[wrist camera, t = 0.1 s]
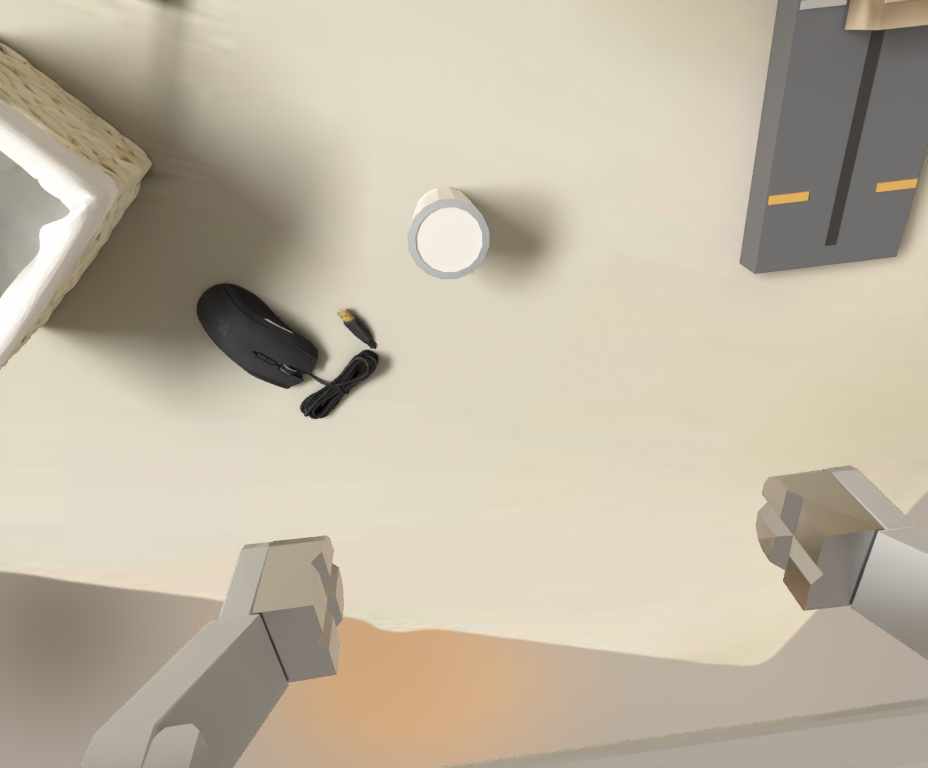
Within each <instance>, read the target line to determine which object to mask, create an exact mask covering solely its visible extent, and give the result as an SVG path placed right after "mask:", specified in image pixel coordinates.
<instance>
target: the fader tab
mask: <svg viewBox="0 0 928 768" xmlns="http://www.w3.org/2000/svg"><path fill="white" fill-rule="evenodd" d="M920 25H928V0H850V5H849V10H848V15H847V20H846V25H845V30H884V29H893V28H902V27H911V26H920Z"/></svg>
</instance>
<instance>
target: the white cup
mask: <svg viewBox="0 0 928 768" xmlns="http://www.w3.org/2000/svg"><path fill="white" fill-rule="evenodd" d="M408 244H409V251H410V253H411V255H412V257H413V259H414V261H415V263H416V265H417V266H419V267H420V268H421V269H422V270H423V271H424V272H426V273H427V274H428V275H431V276H434V277H437V278H440V279H458V278H461V277H463V276H465V275H467V274H470V273H472V272H473V271H474V270H475V269H476V268H477V267H478V266H479V265H480V264H481V263H482V262H483V261H484V258H485V256H486V254H487V251H488V249H489V228H488V226H487V224H486V221H485V219H484V217H483V215H482V214H481V213H480V212H479V210H478V209H477V208H476V207H475V206H474V205H473V203H472V202H471V201H470V200H469V199H468V198H467V197H466V196H465V195H464V194H463V193H462V192H461V191H459V190H456V189H453V188H451V187H437V188H435V189H433V190H431V191H429V192H427V193H425V195H424V196H423V197H422V198H421V199H420V200H419V201H418V203H417V206H416V209H415V212H414V215H413V219H412V222H411V225H410V229H409V232H408Z"/></svg>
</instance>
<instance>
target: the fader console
mask: <svg viewBox="0 0 928 768" xmlns="http://www.w3.org/2000/svg"><path fill="white" fill-rule="evenodd" d="M849 5H850V0H778V6H777V13H776V20H775V26H774V33H773V40H772V47H771V54H770V61H769V67H768V74H767V81H766V88H765V95H764V101H763V108H762V115H761V122H760V129H759V135H758V142H757V149H756V156H755V163H754V170H753V176H752V183H751V190H750V197H749V204H748V210H747V217H746V224H745V231H744V238H743V244H742V251H741V258H740V264H742V265H743V266H744V267H746V268H747V269H749V270H750V271H751V272H753V273H754V274H756V273H765V272H773V271H781V270H789V269H798V268H806V267H814V266H822V265H830V264H839V263H847V262H855V261H863V260H872V259H880V258H888V257H896V256H897V252H898V249H899V245H900V242H901V238H902V235H903V231H904V228H905V224H906V221H907V217H908V213H909V210H910V206H911V203H912V199H913V196H914V192H915V189H916V185H917V182H918V178H919V175H920V171H921V168H922V164H923V161H924V157H925V154H926V150H927V147H928V25H920V26H911V27H902V28H893V29H884V30H845V25H846V20H847V15H848V10H849Z"/></svg>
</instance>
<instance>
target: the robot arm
mask: <svg viewBox="0 0 928 768" xmlns="http://www.w3.org/2000/svg"><path fill="white" fill-rule="evenodd" d="M762 495H763V496H764V497H765V499H766V500H767V501H768V502H767V503H766V504H765V505H764V506H763V507H762V508H761V509H760V510H759V511H758V515H757V522H756V529H757V535H758V540H759V543H760V545H761V548H762V550H763V552H764V553H765V555H766V556H767V558H768V559H769V561H770V562H771V563H773V564H775V565H777V566H778V567H780V568H782V569H784V570H785V572H784V578H783V582H784V583H785V584H786V586H787V587H788V589H789V590H790V592H791V593H792V595H793V596H794V597H795V599H796V600H797V602H798V603H799V605H800V606H801V608H802V609H803V610H804V611H805V610H814V609H823V608H832V607H842V606H851V605H852V607H851V608H852V609H853V610H855V611H857V612H858V613H859V614H861V615H862V616H864V617H865V618H867V619H868V620H870V621H871V622H873V623H874V624H875V625H877V626H878V627H880V628H881V629H883V630H885V631H886V632H887V633H889V634H890V635H892V636H893V637H895V638H896V639H897V640H899V641H900V642H902V643H903V644H905V645H906V646H908V647H909V648H911V649H912V650H914V651H915V652H917V653H918V654H920V655H921V656H923V657H924V658H925V659H927V660H928V526H927V525H919V526H916V525H915V524H914V523H913V522H912V521H911V520H910V519H909V518H908V517H907V516H906V515H905V514H904V513H903V512H902V511H901V510H900V509H899V508H898V507H896V506H895V505H894V504H893V503H892V502H891V501H890V500H889V499H888V498H887V497H886V496H885V495H884V494H883V493H882V492H881V491H880V490H879V489H878V488H877V487H876V486H875V485H874V484H873V483H872V482H871V481H870V480H869V479H868V478H867V477H866V476H865V475H864V474H863V473H861V472H860V471H859V470H858V469H857V468H855V467H852V466H843V467H836V468H829V469H823V470H816V471H809V472H802V473H795V474H788V475H781V476H774V477H769V478H768V479H767V480H766V482H765V483H764V486H763V491H762ZM333 552H334V550H333V547H332V544H331V540H330V537H328V536H318V537H308V538H299V539H290V540H280V541H273V542H268V543H258V544H248V545H245V546H244V547H243V548H242V550H241V551H240V553H239V556H238V559H237V562H236V566H235V569H234V572H233V575H232V578H231V581H230V585H229V588H228V591H227V594H226V597H225V601H224V604H223V607H222V610H221V614H220V617H219V619H218V620H211V621H209V622H208V623H207V624H206V625H205V626H204V627H203V628H202V629H201V630H200V631H199V632H198V633H197V634H196V635H195V636H194V637H193V638H192V639H191V640H190V641H189V642H188V643H187V644H186V645H185V646H184V647H183V648H182V649H181V650H180V651H179V652H178V653H177V654H176V655H175V656H174V657H173V658H172V659H170V661H169V662H168V663H166V664H165V665H164V666H163V667H162V668H161V669H160V670H159V671H158V672H157V673H156V674H155V675H154V676H153V677H152V678H151V679H150V680H149V681H148V682H147V683H146V684H145V685H144V686H143V687H142V688H141V689H140V690H139V691H138V692H137V693H136V694H135V695H134V696H133V697H132V698H131V699H130V700H129V701H128V702H127V703H126V704H125V705H124V706H123V707H122V708H121V709H119V711H118V712H116V713H115V714H114V715H113V716H112V717H111V719H110V720H108V721H107V722H106V723H105V724H104V725H103V726H102V727H101V728H100V729H99V730H98V731H97V732H96V733H95V734H94V736H93V738H92V741H91V743H90V745H89V747H88V750H87V752H86V754H85V756H84V759H83V761H82V763H81V765H80V768H233V767H234V765H235V764H236V762H237V761H238V759H239V758H240V757H241V755H242V754H243V752H244V751H245V749H246V748H247V746H248V745H249V743H250V742H251V740H252V739H253V737H254V736H255V734H256V733H257V731H258V730H259V728H260V727H261V725H262V724H263V723H264V721H265V719H266V718H267V717H268V715H269V714H270V712H271V711H272V709H273V708H274V706H275V705H276V703H277V702H278V700H279V699H280V698H281V696H282V695H283V693H284V691H285V690H286V689H287V687H288V683H289V682H295V681H301V680H307V679H312V678H319V677H325V676H331V675H336V674H337V667H338V658H339V649H340V638H339V635H338V632H337V628H336V627H337V625H338V624H339V623H340V622H341V621H342V619H343V608H344V597H343V584H342V578H341V574H340V570H339V567H337V566H336V565H334V564H333V563H332V560H333ZM436 768H928V698H923V699H917V700H909V701H902V702H895V703H888V704H881V705H873V706H866V707H859V708H852V709H845V710H839V711H832V712H824V713H818V714H810V715H803V716H796V717H789V718H783V719H775V720H768V721H761V722H754V723H747V724H740V725H734V726H726V727H719V728H712V729H705V730H698V731H691V732H684V733H677V734H670V735H663V736H656V737H649V738H642V739H635V740H627V741H620V742H613V743H606V744H599V745H591V746H584V747H577V748H571V749H563V750H556V751H549V752H542V753H534V754H527V755H521V756H513V757H507V758H499V759H492V760H485V761H478V762H471V763H464V764H457V765H449V766H442V767H436Z"/></svg>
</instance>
